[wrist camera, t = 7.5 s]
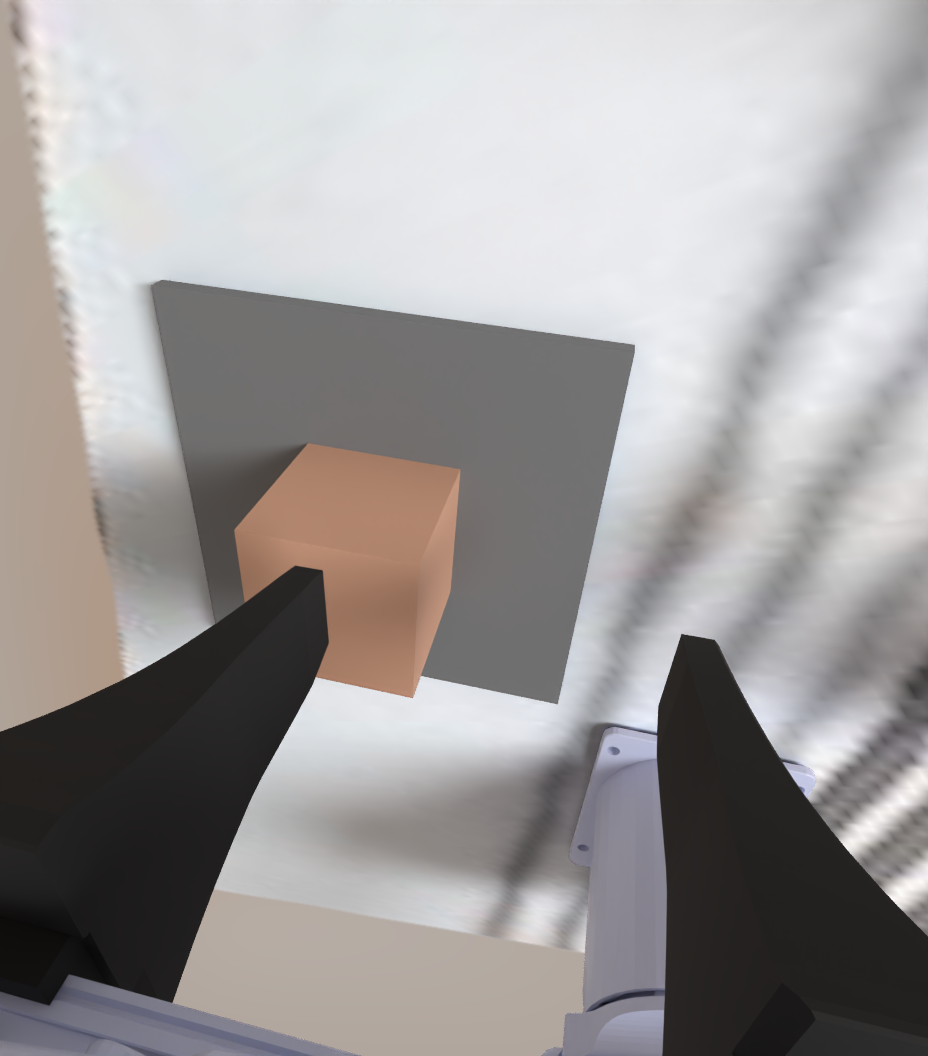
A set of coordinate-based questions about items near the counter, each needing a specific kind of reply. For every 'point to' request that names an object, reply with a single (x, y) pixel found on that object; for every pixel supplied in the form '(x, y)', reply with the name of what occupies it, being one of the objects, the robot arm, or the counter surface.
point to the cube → (361, 556)
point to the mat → (410, 450)
